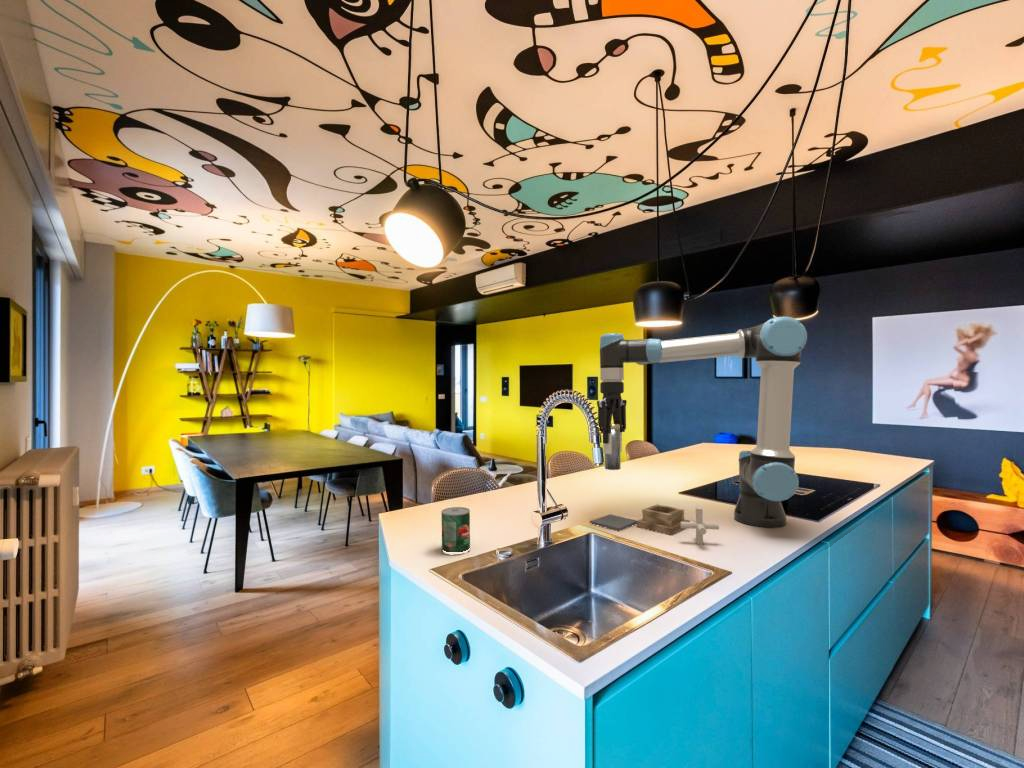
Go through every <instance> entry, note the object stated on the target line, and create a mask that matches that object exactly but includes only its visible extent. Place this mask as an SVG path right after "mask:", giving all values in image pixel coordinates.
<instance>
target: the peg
mask: <svg viewBox="0 0 1024 768" xmlns="http://www.w3.org/2000/svg"><path fill="white" fill-rule="evenodd" d="M610 433H611V434H612V454H605V453H604V469H605V470H609V471H618V470H621V452H620V424H614V423H611V427H610Z"/></svg>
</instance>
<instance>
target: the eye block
mask: <svg viewBox="0 0 1024 768" xmlns="http://www.w3.org/2000/svg"><path fill="white" fill-rule="evenodd" d="M641 512H642V518H640V519H638V520H637V521H636V525H635V526H637V527H636V528H638V527H641V528H640V529H642V528H645V529H644V530H646V529H649V530H648V531H651V530H653V531H652V532H655V531H657V532H656V533H659V532H660V533H659V534H663V533H665V534H664V535H667V534H668V536H671V535H672V536H674V535H677V534H678V533H681V532H683V531H685V530H687V529H686V528H681V526H680V522H691V520H690V519H685V509H682V508H678V507H672V506H667V505H662V504H655V505H652V506H649V507H647V508H646V507H645V508H643V509H642V511H641ZM684 529H685V530H684ZM682 530H683V531H682ZM673 534H674V535H673Z"/></svg>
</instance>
